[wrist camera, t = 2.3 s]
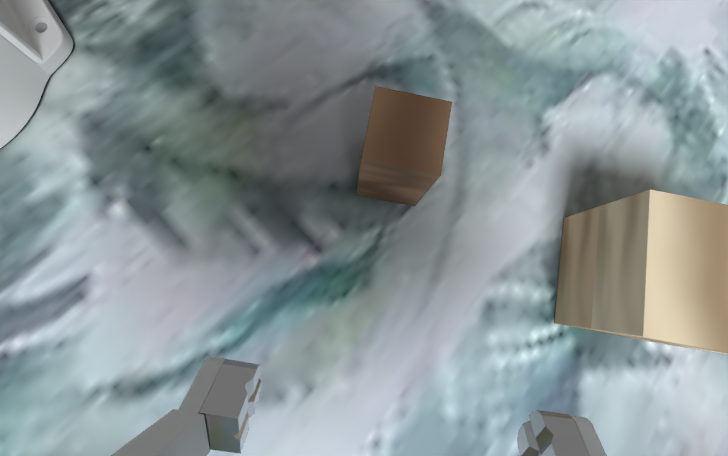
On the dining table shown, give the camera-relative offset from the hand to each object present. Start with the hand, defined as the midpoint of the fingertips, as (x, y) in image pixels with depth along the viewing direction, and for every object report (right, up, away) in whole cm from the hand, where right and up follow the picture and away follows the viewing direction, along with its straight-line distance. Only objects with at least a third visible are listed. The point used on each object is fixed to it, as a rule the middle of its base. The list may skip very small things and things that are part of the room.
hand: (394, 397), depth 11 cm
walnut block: (+1, +9, +17) cm, 19 cm away
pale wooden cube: (+18, +1, +17) cm, 24 cm away
